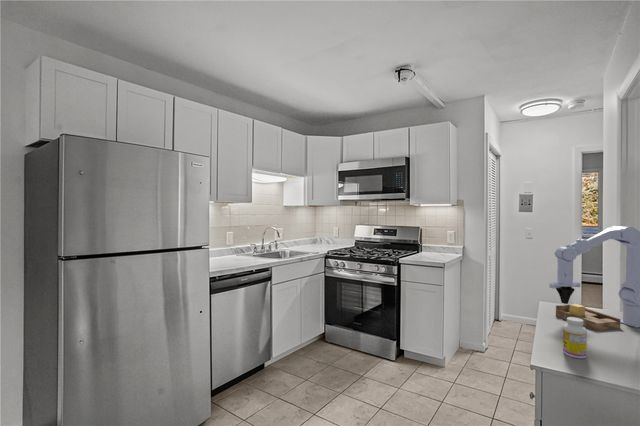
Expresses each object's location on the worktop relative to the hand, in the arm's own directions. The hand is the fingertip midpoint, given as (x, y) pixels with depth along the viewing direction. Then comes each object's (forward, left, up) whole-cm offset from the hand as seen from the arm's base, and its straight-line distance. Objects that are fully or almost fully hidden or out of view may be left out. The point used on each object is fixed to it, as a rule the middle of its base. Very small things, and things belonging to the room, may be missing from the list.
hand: (564, 303), depth 151 cm
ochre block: (-7, 0, -5) cm, 9 cm away
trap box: (-10, +2, -8) cm, 13 cm away
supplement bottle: (+27, +30, -9) cm, 41 cm away
